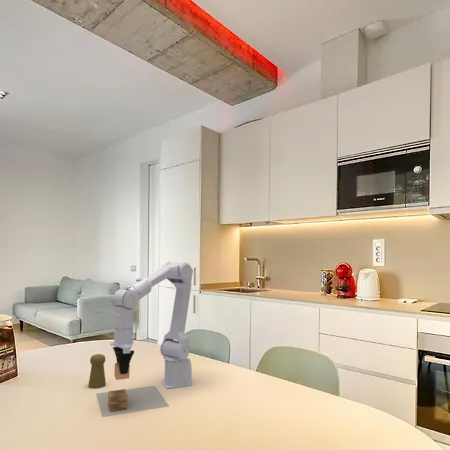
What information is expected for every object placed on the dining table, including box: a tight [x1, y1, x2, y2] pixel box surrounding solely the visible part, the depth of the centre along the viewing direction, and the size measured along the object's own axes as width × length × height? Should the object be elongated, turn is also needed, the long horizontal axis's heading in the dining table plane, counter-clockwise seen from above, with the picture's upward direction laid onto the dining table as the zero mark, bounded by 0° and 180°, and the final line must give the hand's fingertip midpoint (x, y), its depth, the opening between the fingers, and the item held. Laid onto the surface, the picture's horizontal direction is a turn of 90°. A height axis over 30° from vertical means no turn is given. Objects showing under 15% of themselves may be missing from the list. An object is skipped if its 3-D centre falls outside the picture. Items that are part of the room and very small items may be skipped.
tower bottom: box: [108, 399, 127, 412], centre depth 118 cm, size 5×5×2 cm
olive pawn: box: [88, 353, 107, 390], centre depth 137 cm, size 6×6×11 cm
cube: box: [114, 362, 130, 381], centre depth 121 cm, size 4×4×4 cm
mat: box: [95, 385, 170, 418], centre depth 124 cm, size 20×20×1 cm
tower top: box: [107, 388, 127, 405], centre depth 118 cm, size 5×5×2 cm
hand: (122, 371), depth 121 cm, fingers closed on cube, 4 cm apart
